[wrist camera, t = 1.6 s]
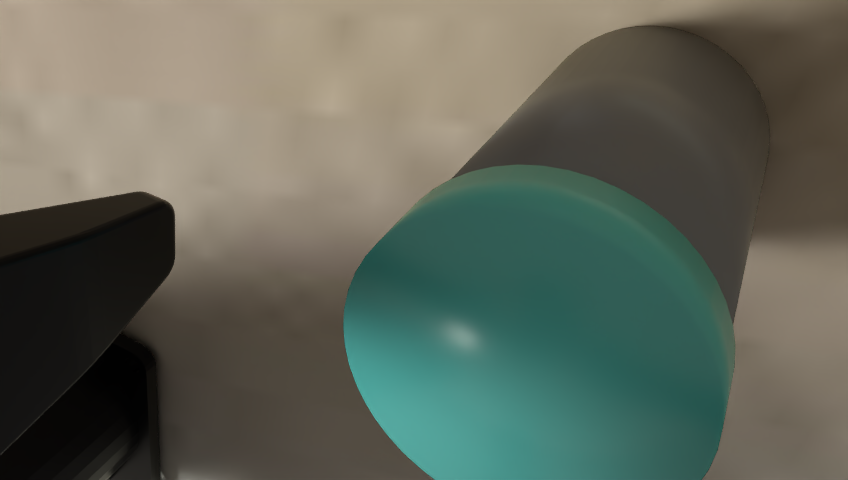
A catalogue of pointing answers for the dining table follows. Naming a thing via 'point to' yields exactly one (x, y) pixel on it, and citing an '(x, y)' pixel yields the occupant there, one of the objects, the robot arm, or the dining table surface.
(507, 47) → the dining table surface
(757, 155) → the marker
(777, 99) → the dining table surface
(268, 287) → the dining table surface
